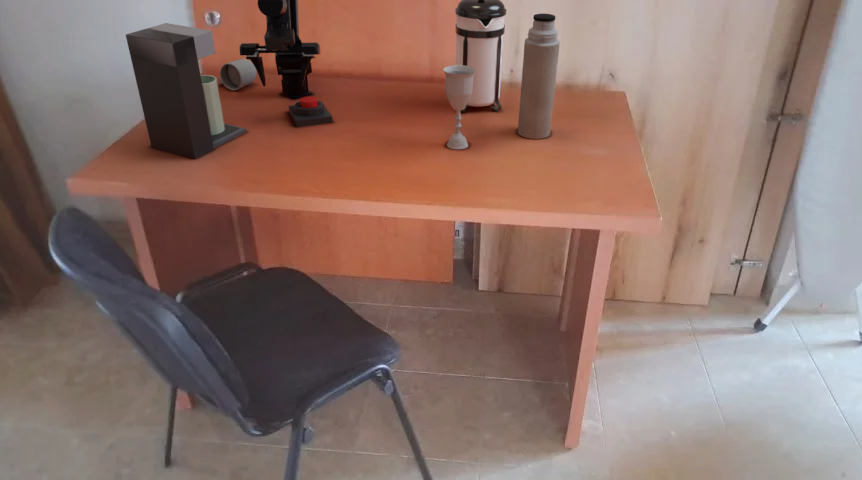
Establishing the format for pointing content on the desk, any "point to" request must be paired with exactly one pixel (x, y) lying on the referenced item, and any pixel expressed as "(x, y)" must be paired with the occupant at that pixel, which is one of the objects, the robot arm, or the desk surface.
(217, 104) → the cup
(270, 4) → the robot arm
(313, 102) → the button
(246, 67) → the ceramic mug
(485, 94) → the coffee press
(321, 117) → the button pad
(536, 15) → the thermos bottle
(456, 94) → the chalice
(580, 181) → the desk surface
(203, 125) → the coffee maker
